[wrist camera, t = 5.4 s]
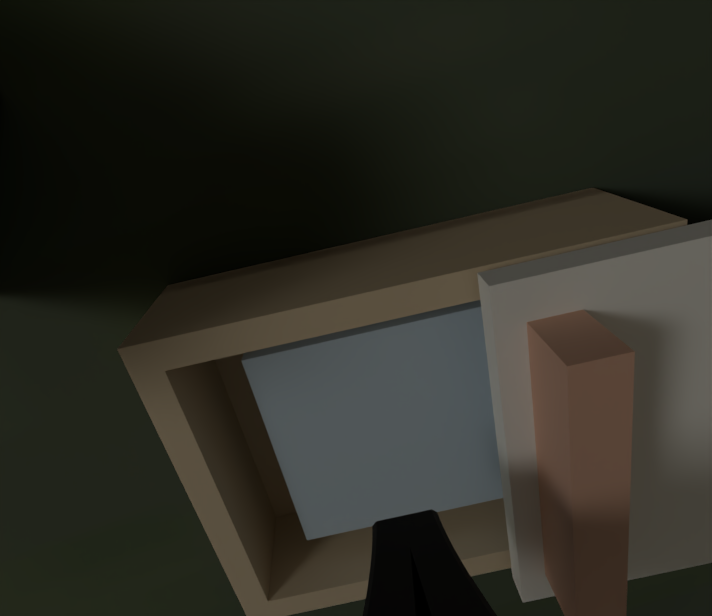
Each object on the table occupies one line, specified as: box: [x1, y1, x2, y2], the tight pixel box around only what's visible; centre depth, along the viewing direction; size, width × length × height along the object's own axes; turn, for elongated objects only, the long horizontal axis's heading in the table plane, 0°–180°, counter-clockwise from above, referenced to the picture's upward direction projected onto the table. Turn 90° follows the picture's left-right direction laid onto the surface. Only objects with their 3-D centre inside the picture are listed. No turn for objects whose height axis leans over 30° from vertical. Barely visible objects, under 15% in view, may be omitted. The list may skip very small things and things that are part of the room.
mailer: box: [117, 188, 687, 616], centre depth 15 cm, size 10×13×4 cm
